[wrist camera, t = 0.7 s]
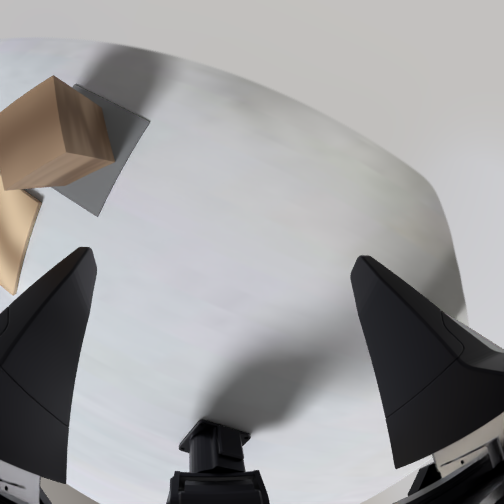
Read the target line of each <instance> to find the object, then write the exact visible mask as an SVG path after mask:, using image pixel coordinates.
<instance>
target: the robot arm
mask: <svg viewBox="0 0 504 504" xmlns="http://www.w3.org/2000/svg"><path fill="white" fill-rule="evenodd" d="M96 275H97V266H96V262H95V259H94V255H93V251H92V249H91V248H90V247H79V248H77V249H76V250H75V251H73V252H72V253H71V254H70V255H68V256H67V257H66V258H64V259H63V260H62V261H61V262H59V263H58V264H57V265H56V266H54V267H53V268H52V269H51V270H49V271H48V272H47V273H46V274H44V275H43V276H42V277H41V278H40V279H38V280H37V281H36V282H35V283H34V284H33V285H31V286H30V287H29V288H28V289H27V290H26V291H25V292H23V293H22V294H21V295H20V296H19V297H18V298H17V299H16V300H14V301H13V302H12V303H11V304H10V305H9V307H7V308H6V309H5V310H4V311H3V312H2V313H0V504H52V503H51V502H50V500H49V499H48V497H47V496H46V494H45V493H44V492H43V490H42V489H41V487H40V479H41V477H44V478H47V479H50V480H53V481H56V482H60V483H63V484H66V470H67V446H68V433H69V428H68V427H69V421H70V412H71V404H72V397H73V390H74V384H75V378H76V372H77V367H78V362H79V357H80V352H81V347H82V343H83V338H84V334H85V330H86V326H87V322H88V318H89V314H90V308H91V303H92V296H93V291H94V285H95V280H96ZM351 283H352V288H353V292H354V297H355V302H356V307H357V311H358V316H359V319H360V323H361V326H362V329H363V332H364V336H365V339H366V343H367V346H368V350H369V353H370V357H371V361H372V364H373V368H374V372H375V376H376V380H377V384H378V388H379V392H380V396H381V400H382V404H383V409H384V413H385V418H386V423H387V428H388V433H389V438H390V443H391V448H392V454H393V460H394V465H395V469H398V468H401V467H403V466H406V465H408V464H411V463H413V462H415V461H418V460H420V459H422V458H425V457H427V456H429V455H431V454H432V456H433V460H434V462H432V463H430V464H429V465H427V466H425V467H423V468H421V469H419V472H418V474H417V476H416V478H415V480H414V482H413V485H412V487H411V489H410V491H409V493H408V497H406V498H404V499H402V500H400V501H397V502H395V503H393V504H504V353H501V352H497V351H495V350H493V349H491V348H489V347H488V346H486V345H485V344H484V343H483V342H481V341H480V340H479V339H477V338H476V337H475V336H473V335H472V334H471V333H469V332H468V331H467V330H465V329H464V328H463V327H461V326H460V325H459V324H458V323H456V322H455V321H454V320H453V319H451V318H450V317H449V316H448V315H446V314H445V313H444V312H443V311H440V309H439V308H438V307H437V306H435V305H434V304H433V303H432V302H430V301H429V300H428V299H427V298H425V297H424V296H423V295H422V294H420V293H419V292H418V291H416V290H415V289H414V288H413V287H411V286H410V285H409V284H407V283H406V282H405V281H403V280H402V279H401V278H399V277H398V276H397V275H395V274H394V273H393V272H391V271H390V270H389V269H387V268H386V267H385V266H383V265H382V264H381V263H379V262H378V261H377V260H375V259H374V258H372V257H371V256H368V255H361V256H359V257H358V258H357V260H356V262H355V265H354V267H353V269H352V272H351ZM250 438H251V437H250V434H249V433H245V432H241V431H238V430H234V429H231V428H228V427H224V426H221V425H218V424H215V423H212V422H209V421H206V420H200V421H199V422H198V423H197V424H196V426H195V427H194V428H193V429H192V430H191V432H190V433H189V434H188V435H187V436H186V438H185V439H184V440H183V441H182V442H181V444H180V445H179V450H181V451H184V452H187V453H189V467H190V473H189V472H180V471H175V474H174V477H173V478H171V479H170V491H169V495H168V499H167V502H166V504H270V503H269V498H268V494H267V491H266V488H265V486H264V483H263V480H262V478H261V475H260V472H259V470H254V471H250V472H246V471H245V466H244V460H243V459H244V454H243V448H242V446H243V445H244V444H245V443H246V442H247V441H248V440H249V439H250Z"/></svg>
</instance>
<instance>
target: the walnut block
mask: <svg viewBox="0 0 504 504" xmlns="http://www.w3.org/2000/svg"><path fill="white" fill-rule="evenodd" d="M114 162H115V159H114V156H113V152H112V148H111V144H110V141H109V137H108V133H107V128H106V124H105V120H104V116H103V111H102V108H101V107H100V106H98V105H97V104H96V103H94V102H93V101H91V100H90V99H88V98H87V97H85V96H84V95H82V94H81V93H79V92H78V91H76V90H75V89H73V88H72V87H70V86H69V85H67V84H66V83H64V82H63V81H61V80H60V79H58V78H57V77H55V76H54V75H53V76H52V77H50V78H48V79H47V80H45V81H43V82H42V83H40V84H39V85H37V86H36V87H34V88H33V89H31V90H30V91H28V92H27V93H26V94H24V95H23V96H21V97H20V98H19V99H17V100H16V101H14V102H13V103H12V104H10V105H9V106H8V107H7V108H5V109H4V110H3V111H2V112H0V172H1V177H2V182H3V187H4V191H8V190H18V189H29V188H41V187H56V186H66V185H68V184H70V183H72V182H74V181H76V180H78V179H80V178H82V177H84V176H86V175H88V174H90V173H92V172H95V171H97V170H99V169H101V168H103V167H105V166H108V165H110V164H112V163H114Z"/></svg>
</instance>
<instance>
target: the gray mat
mask: <svg viewBox="0 0 504 504" xmlns="http://www.w3.org/2000/svg"><path fill="white" fill-rule="evenodd" d="M73 89H75V90H76V91H78V92H79V93H81V94H82V95H84V96H85V97H87V98H88V99H90V100H91V101H93V102H94V103H96V104H97V105H98V106H100V107H101V108H102V111H103V116H104V120H105V124H106V128H107V133H108V137H109V141H110V144H111V148H112V152H113V156H114V159H115V162H114V163H112V164H110V165H108V166H105V167H103V168H101V169H99V170H97V171H95V172H92V173H90V174H88V175H86V176H84V177H82V178H80V179H78V180H76V181H74V182H72V183H70V184H68V185H66V186H56V187H52V188H53V189H55V190H56V191H58V192H59V193H61V194H62V195H64V196H66V197H67V198H69V199H70V200H72V201H73V202H75V203H76V204H78V205H80V206H81V207H83V208H84V209H86V210H87V211H89V212H91V213H92V214H94V215H95V216H97V217H98V215H99V213H100V211H101V209H102V207H103V205H104V203H105V201H106V199H107V197H108V195H109V193H110V191H111V189H112V187H113V185H114V183H115V181H116V179H117V177H118V175H119V173H120V172H121V170H122V168H123V166H124V164H125V163H126V161H127V159H128V157H129V156H130V154H131V152H132V150H133V149H134V147H135V145H136V144H137V142H138V140H139V139H140V137H141V136H142V134H143V132H144V131H145V129H146V128H147V126H148V124H149V123H150V122H149V121H147V120H145V119H143V118H141V117H140V116H138V115H136V114H134V113H132V112H130V111H128V110H126V109H124V108H122V107H120V106H118V105H116V104H114V103H112V102H110V101H108V100H106V99H104V98H102V97H100V96H98V95H96V94H94V93H92V92H90V91H88V90H86V89H84V88H81V87H79V86H77V85H75V84H74V86H73Z"/></svg>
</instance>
